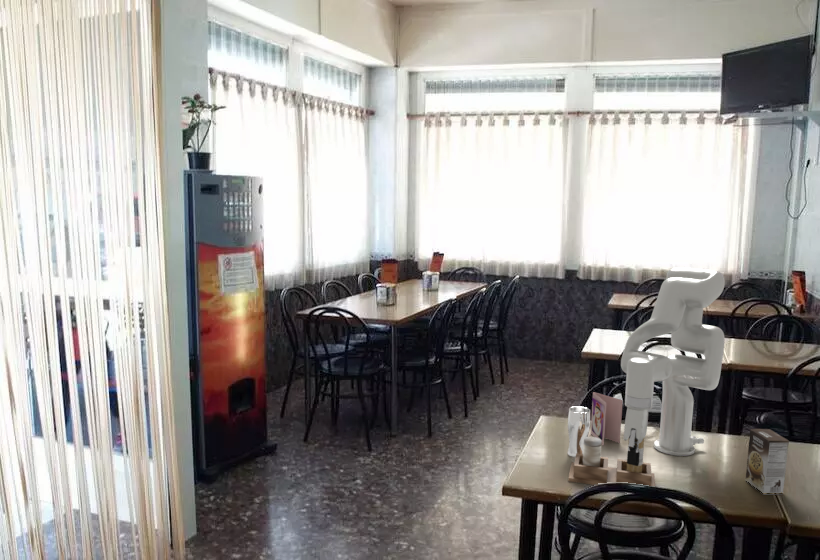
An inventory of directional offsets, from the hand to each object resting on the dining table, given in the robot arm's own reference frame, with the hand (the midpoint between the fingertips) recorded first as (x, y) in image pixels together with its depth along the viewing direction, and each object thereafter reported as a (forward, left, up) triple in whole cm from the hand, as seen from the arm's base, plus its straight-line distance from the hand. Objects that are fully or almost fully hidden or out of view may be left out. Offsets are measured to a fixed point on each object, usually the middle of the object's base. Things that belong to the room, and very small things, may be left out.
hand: (634, 460), depth 195 cm
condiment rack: (+5, -3, -6) cm, 9 cm away
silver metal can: (+8, -21, -7) cm, 24 cm away
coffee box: (-36, +9, -7) cm, 38 cm away
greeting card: (-7, -32, -7) cm, 34 cm away
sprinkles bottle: (0, 0, -4) cm, 4 cm away
